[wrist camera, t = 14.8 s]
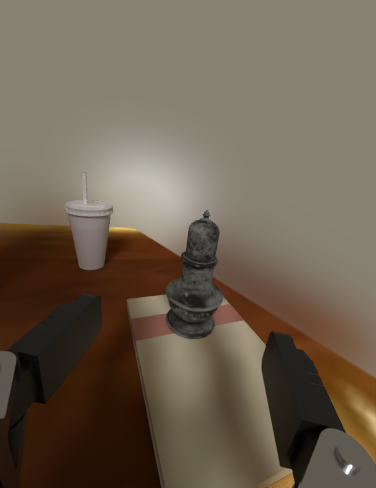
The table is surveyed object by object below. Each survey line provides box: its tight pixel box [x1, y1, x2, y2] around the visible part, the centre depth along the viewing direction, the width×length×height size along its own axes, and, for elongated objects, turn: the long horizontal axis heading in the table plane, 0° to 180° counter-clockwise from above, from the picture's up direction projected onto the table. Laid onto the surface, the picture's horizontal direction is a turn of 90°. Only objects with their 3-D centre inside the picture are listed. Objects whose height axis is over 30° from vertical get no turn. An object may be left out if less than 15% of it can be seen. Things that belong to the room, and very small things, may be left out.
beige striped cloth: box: [127, 295, 292, 488], centre depth 20 cm, size 12×18×1 cm, turn 21°
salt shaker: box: [166, 211, 223, 339], centre depth 21 cm, size 6×6×12 cm
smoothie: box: [65, 173, 113, 270], centre depth 32 cm, size 6×6×14 cm
